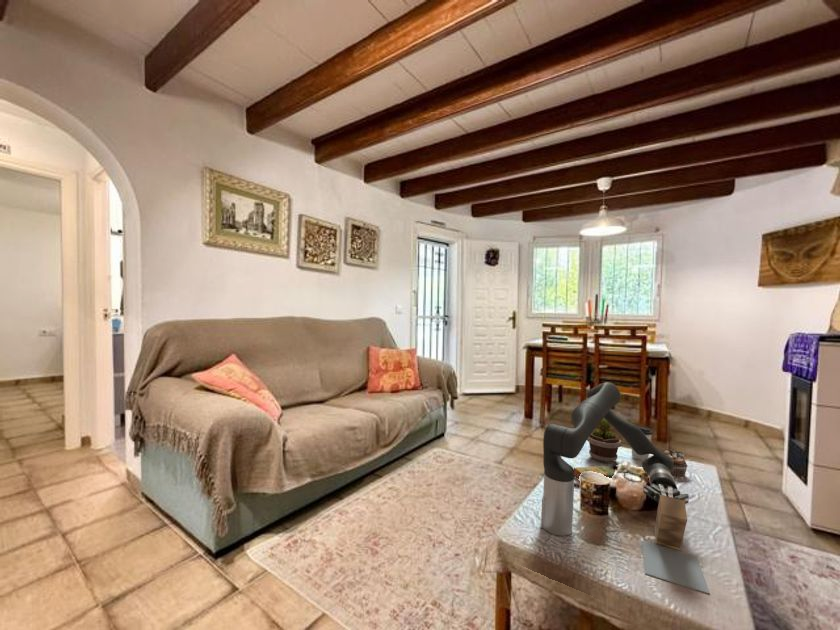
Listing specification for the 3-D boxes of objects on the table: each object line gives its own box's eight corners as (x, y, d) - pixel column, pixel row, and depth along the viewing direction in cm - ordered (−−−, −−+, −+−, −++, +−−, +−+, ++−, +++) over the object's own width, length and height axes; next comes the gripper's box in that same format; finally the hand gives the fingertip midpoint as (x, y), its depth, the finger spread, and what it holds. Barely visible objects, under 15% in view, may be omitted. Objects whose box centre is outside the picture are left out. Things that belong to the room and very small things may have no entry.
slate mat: (645, 574, 100) (645, 573, 100) (641, 541, 114) (641, 540, 114) (709, 594, 93) (709, 593, 93) (696, 556, 107) (697, 555, 107)
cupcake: (655, 471, 164) (657, 448, 164) (668, 467, 169) (669, 445, 168) (679, 480, 156) (680, 457, 155) (691, 476, 160) (692, 453, 160)
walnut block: (656, 543, 113) (661, 513, 105) (655, 525, 117) (660, 495, 109) (679, 550, 110) (687, 520, 102) (677, 530, 115) (684, 500, 107)
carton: (572, 476, 157) (573, 466, 157) (606, 474, 160) (606, 465, 160) (584, 486, 149) (585, 475, 149) (620, 484, 152) (620, 473, 152)
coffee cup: (630, 451, 186) (631, 422, 185) (651, 456, 180) (653, 426, 180) (628, 457, 178) (629, 427, 178) (650, 462, 173) (651, 431, 173)
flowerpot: (619, 469, 165) (621, 425, 164) (582, 460, 173) (584, 418, 173) (622, 458, 177) (624, 417, 176) (587, 450, 185) (589, 411, 185)
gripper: (640, 467, 130) (644, 488, 115) (686, 476, 124) (696, 500, 109) (639, 488, 131) (643, 512, 115) (685, 498, 124) (695, 525, 109)
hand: (669, 506), depth 112 cm, fingers closed
